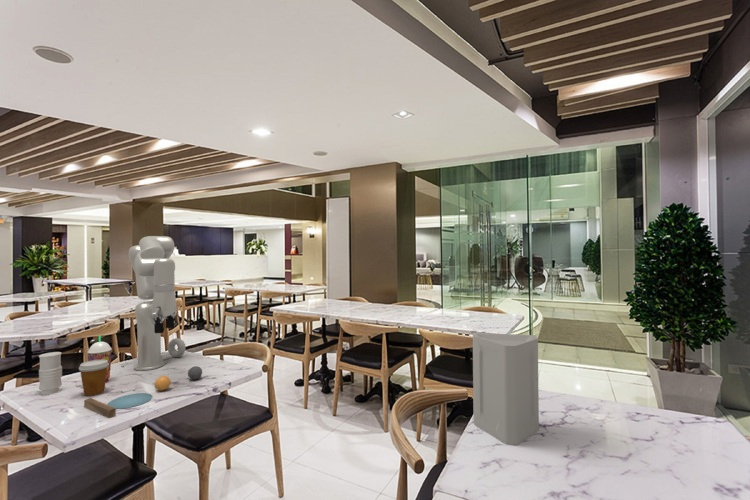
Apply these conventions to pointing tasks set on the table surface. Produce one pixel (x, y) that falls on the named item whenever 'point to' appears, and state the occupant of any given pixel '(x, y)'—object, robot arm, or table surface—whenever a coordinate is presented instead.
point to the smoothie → (101, 354)
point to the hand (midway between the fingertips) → (164, 330)
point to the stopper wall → (100, 407)
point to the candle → (50, 373)
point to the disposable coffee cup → (93, 376)
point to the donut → (180, 345)
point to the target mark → (130, 400)
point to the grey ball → (195, 372)
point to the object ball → (162, 383)
